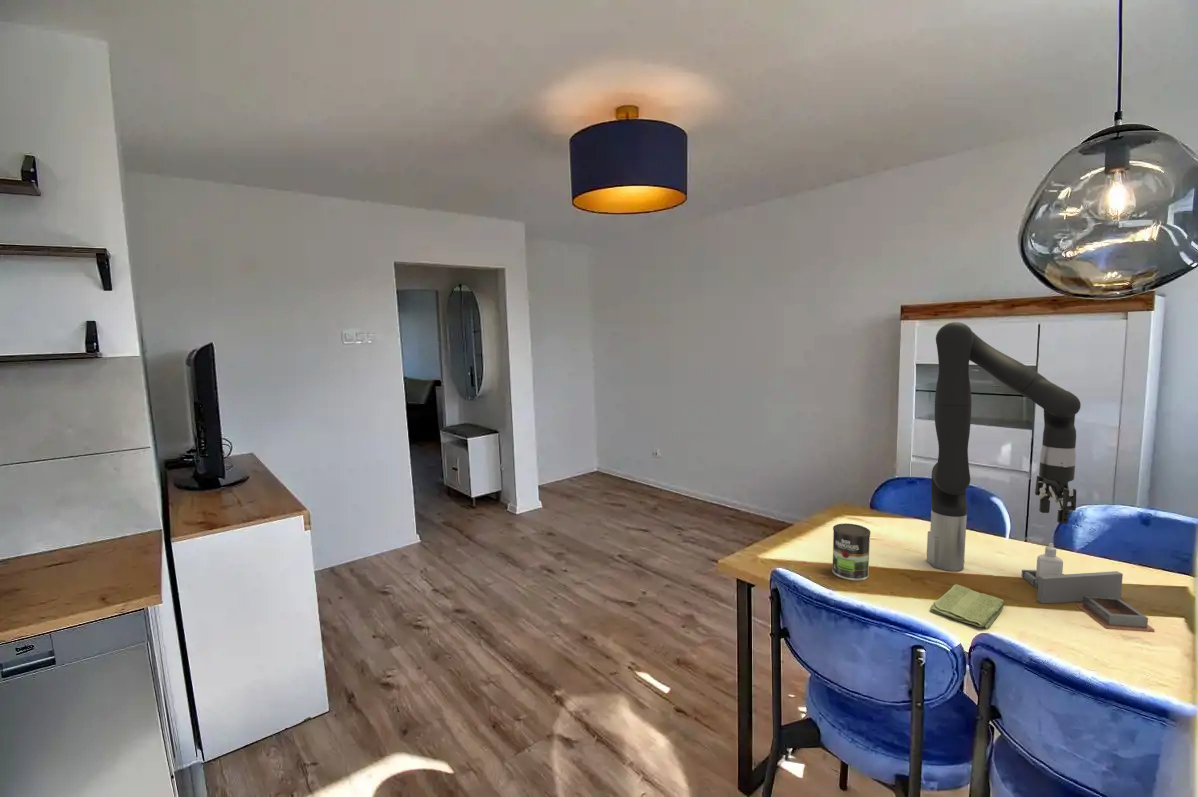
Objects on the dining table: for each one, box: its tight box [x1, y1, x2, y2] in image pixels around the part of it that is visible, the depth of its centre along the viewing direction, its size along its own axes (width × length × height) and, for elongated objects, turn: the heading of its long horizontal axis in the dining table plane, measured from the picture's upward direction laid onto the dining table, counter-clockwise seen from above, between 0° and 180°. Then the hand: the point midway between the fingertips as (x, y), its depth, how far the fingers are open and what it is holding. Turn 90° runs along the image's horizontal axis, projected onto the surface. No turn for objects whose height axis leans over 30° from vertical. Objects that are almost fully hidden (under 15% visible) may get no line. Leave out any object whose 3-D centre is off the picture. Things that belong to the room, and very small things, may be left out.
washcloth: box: [929, 583, 1005, 630], centre depth 142 cm, size 13×18×3 cm
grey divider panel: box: [1037, 570, 1124, 604], centre depth 144 cm, size 22×2×7 cm, turn 93°
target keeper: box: [1076, 596, 1155, 632], centre depth 135 cm, size 10×11×3 cm
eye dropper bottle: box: [1035, 542, 1064, 580], centre depth 153 cm, size 4×6×12 cm
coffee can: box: [831, 523, 871, 582], centre depth 164 cm, size 10×10×14 cm
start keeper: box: [1021, 569, 1064, 590], centre depth 154 cm, size 10×8×2 cm
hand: (1053, 517), depth 152 cm, fingers open, 8 cm apart
